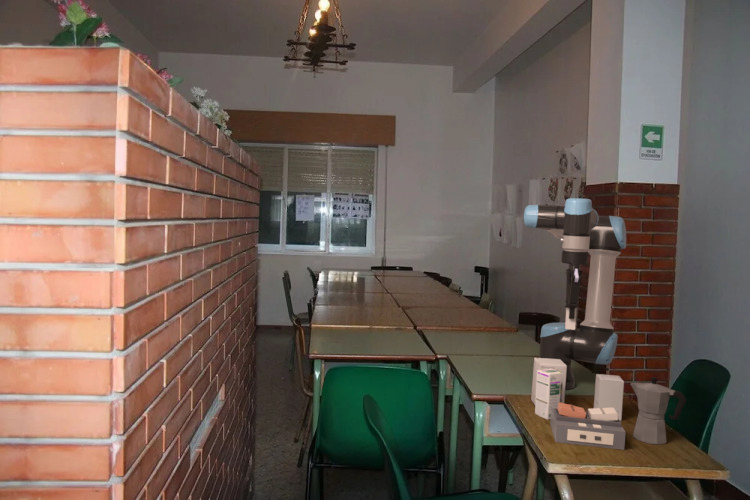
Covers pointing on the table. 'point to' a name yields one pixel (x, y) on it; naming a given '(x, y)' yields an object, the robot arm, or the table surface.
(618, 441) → the console
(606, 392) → the supplement box
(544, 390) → the syrup box
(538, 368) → the supplement box
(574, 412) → the rocker
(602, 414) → the rocker
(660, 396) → the coffeepot
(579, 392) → the table surface
